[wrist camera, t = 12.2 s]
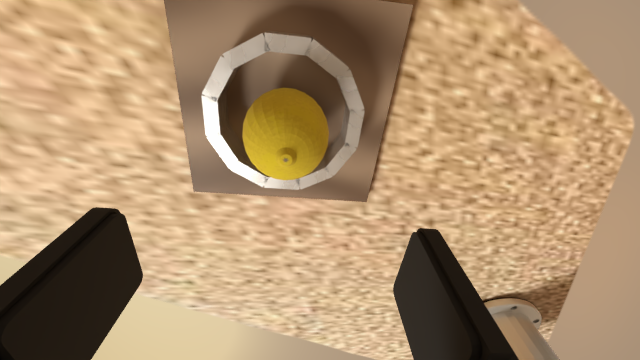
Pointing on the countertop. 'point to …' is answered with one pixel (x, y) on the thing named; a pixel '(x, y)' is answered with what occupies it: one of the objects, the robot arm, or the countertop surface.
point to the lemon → (285, 134)
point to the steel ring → (229, 142)
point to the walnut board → (287, 78)
